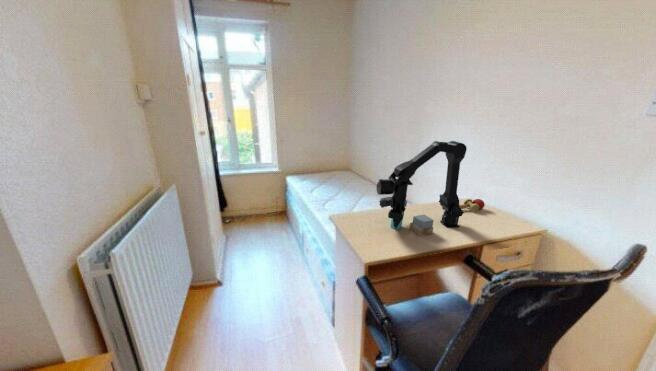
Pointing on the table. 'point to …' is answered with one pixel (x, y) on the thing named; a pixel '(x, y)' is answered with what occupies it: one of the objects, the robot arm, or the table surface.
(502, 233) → the table surface
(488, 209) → the table surface
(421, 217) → the upper block
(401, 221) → the teal rounded dome
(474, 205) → the kendama
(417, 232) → the lower block
